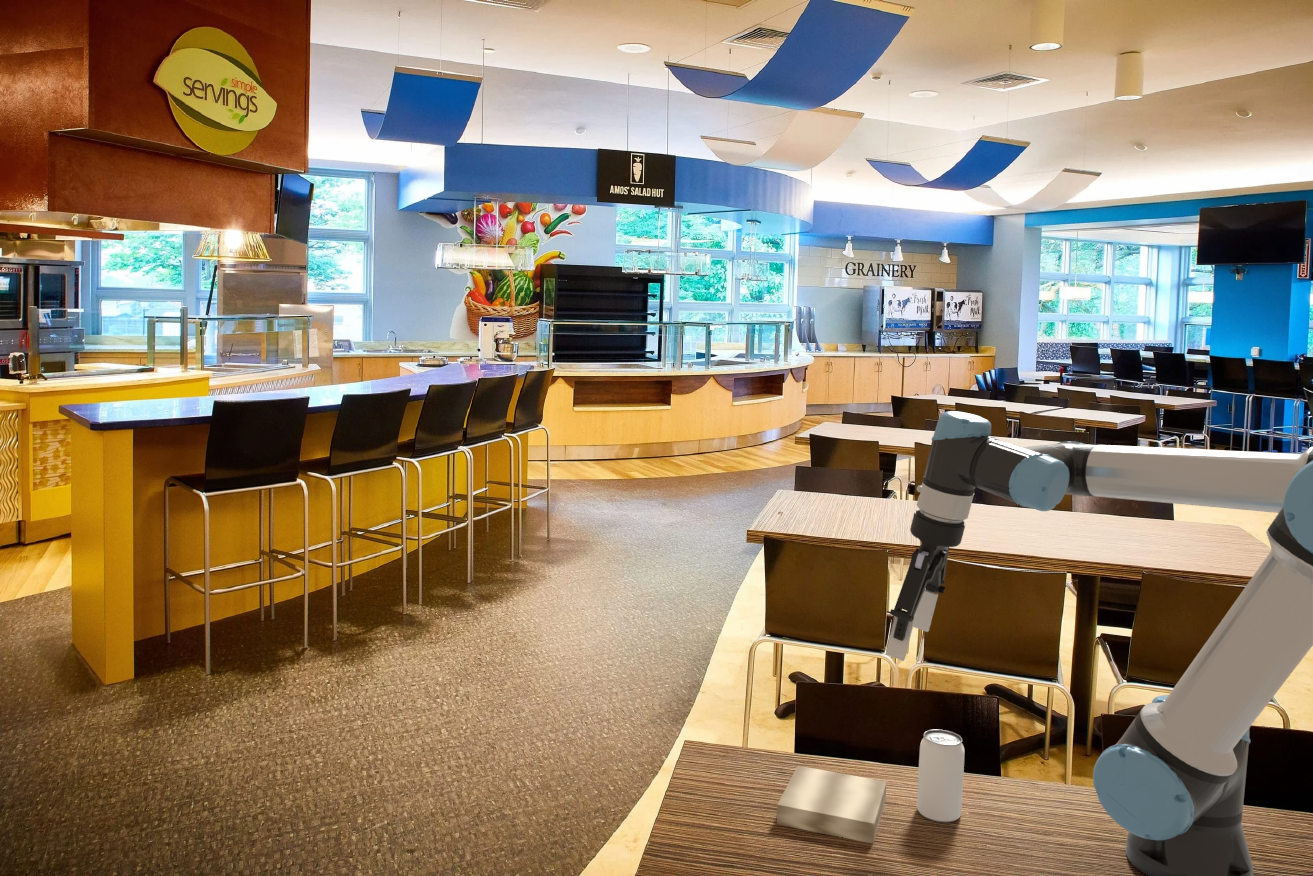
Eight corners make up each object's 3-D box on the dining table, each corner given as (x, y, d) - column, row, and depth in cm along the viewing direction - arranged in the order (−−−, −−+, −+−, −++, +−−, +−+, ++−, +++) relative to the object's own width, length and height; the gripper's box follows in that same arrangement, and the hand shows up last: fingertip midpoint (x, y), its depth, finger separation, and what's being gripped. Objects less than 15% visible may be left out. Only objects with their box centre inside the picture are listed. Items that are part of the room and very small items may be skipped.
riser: (885, 800, 146) (886, 781, 146) (873, 843, 133) (874, 823, 133) (796, 783, 151) (797, 765, 151) (776, 824, 138) (777, 804, 138)
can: (966, 824, 139) (971, 746, 138) (922, 823, 139) (926, 745, 138) (953, 803, 146) (958, 729, 144) (911, 802, 146) (915, 727, 145)
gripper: (937, 491, 152) (907, 609, 158) (891, 524, 131) (858, 660, 137) (984, 505, 149) (951, 626, 154) (944, 541, 128) (908, 680, 133)
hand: (908, 642), depth 145 cm, fingers open, 13 cm apart
